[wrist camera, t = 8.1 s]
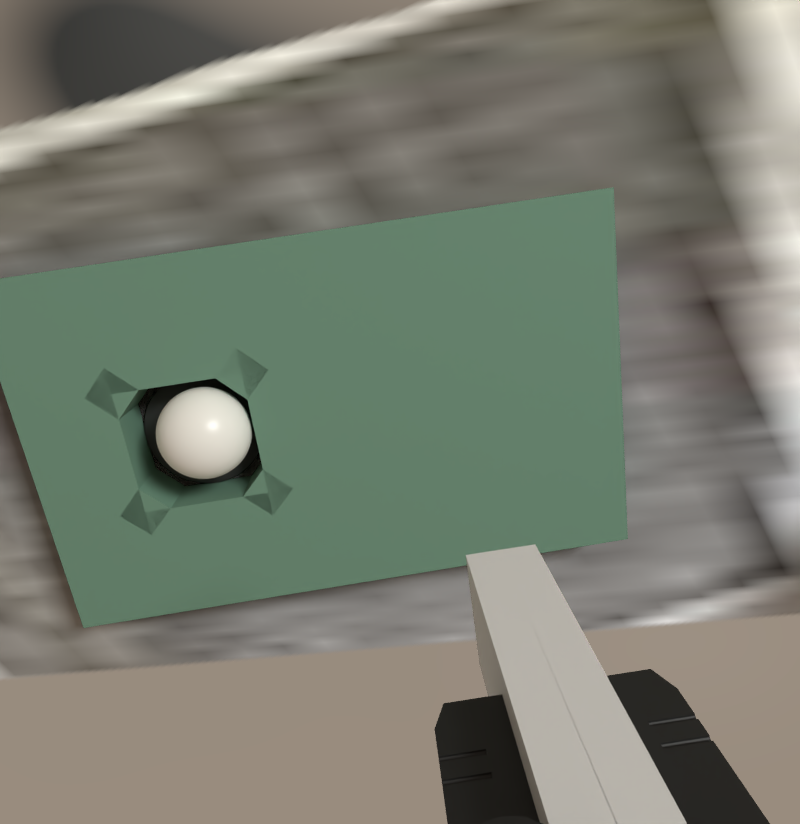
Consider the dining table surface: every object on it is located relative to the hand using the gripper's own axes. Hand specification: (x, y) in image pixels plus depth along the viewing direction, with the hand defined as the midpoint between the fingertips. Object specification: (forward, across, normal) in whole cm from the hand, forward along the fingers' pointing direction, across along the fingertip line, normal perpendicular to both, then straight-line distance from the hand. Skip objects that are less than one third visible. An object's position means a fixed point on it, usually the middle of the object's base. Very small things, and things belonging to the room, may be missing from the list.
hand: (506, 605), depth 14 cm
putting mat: (+17, +5, 0) cm, 18 cm away
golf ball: (+15, +10, -1) cm, 18 cm away
